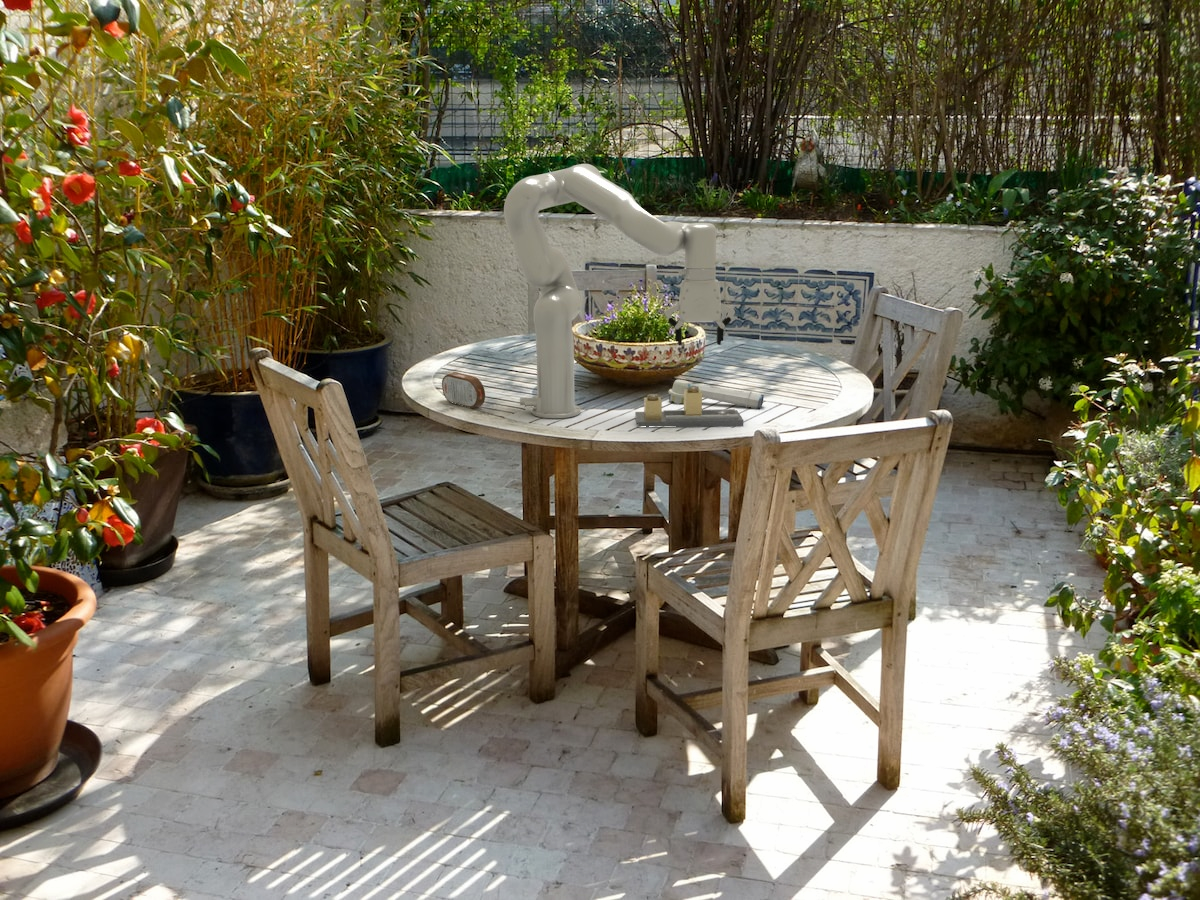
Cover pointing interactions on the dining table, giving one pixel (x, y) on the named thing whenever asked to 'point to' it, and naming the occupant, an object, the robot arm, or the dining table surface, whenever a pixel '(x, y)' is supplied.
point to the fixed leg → (652, 407)
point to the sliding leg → (692, 401)
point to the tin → (463, 389)
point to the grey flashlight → (717, 395)
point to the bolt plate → (693, 418)
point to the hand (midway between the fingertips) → (699, 344)
